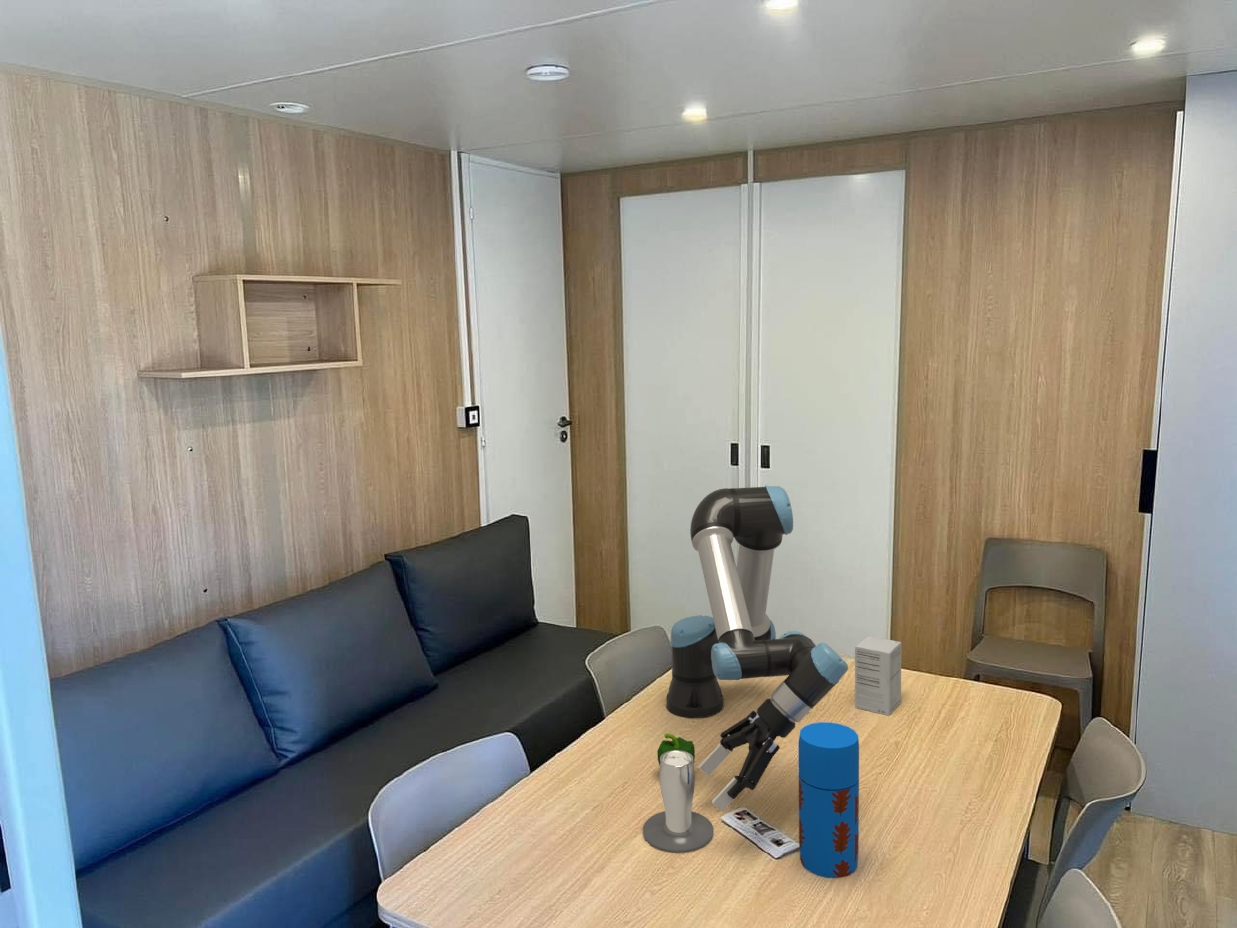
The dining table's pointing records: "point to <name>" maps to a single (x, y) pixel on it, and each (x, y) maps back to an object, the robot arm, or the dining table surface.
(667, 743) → the bell pepper
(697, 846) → the coaster
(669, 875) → the dining table surface
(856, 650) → the supplement box
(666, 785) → the metal tumbler
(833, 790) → the thermos
